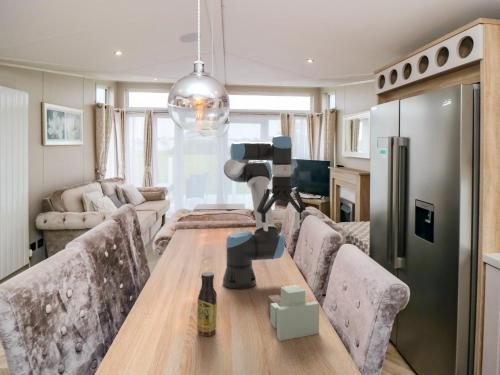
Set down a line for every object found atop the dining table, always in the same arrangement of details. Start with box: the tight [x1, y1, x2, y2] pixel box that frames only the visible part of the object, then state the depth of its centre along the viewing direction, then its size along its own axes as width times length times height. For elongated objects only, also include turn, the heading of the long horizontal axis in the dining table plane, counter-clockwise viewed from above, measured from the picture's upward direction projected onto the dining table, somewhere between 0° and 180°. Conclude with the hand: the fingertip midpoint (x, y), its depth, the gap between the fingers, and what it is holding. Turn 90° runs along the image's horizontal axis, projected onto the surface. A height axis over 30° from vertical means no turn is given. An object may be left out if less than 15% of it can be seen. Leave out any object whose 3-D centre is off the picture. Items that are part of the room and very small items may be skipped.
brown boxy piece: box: [267, 294, 281, 314], centre depth 126 cm, size 12×4×6 cm, turn 19°
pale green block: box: [269, 284, 320, 342], centre depth 118 cm, size 12×14×14 cm
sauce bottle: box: [196, 271, 218, 337], centre depth 115 cm, size 7×6×20 cm
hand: (281, 229), depth 140 cm, fingers open, 13 cm apart
